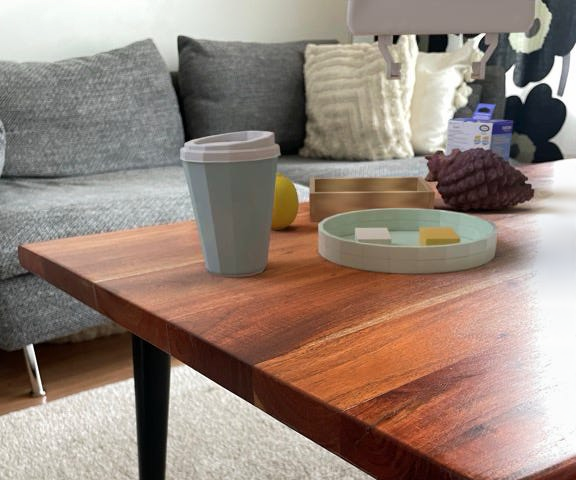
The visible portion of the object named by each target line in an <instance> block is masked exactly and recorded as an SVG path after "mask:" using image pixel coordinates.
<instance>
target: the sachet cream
mask: <svg viewBox="0 0 576 480" xmlns="http://www.w3.org/2000/svg"><path fill="white" fill-rule="evenodd" d="M355 241H358V242H363V243H371V244H382V245H392V239H391V236H390V234H389V231H388V229H387V228H355Z"/></svg>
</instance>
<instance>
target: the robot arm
mask: <svg viewBox="0 0 576 480" xmlns="http://www.w3.org/2000/svg"><path fill="white" fill-rule="evenodd" d="M346 12H347V13H346V14H347V15H346V25H347V29H348V30H349V32H350V33H351V34H352V35H353V36H356V37H358V36H359V37H361V36H362V37H363V36H364V37H366V36H367V37H369V36H377V48H378V50H379V52H380V54H381V56H382V58H383V60H384V62H385V63H386V75H385V76H386V80H390V81H392V80H397V81H398V80H401V78H402V72H401V70H402V62H395V60H394V57H393V56H392V54H391V51H390V49H389V47H392V46H393V42H394V41H393V40H394V36H411V35H412V36H413V35H415V36H417V35H419V36H420V35H459V34H460V35H466V34H467V35H469V34H475V35H476V34H484V35H485V36H484V44H485V45H486V46H488V47H487V49H486V51H485V52H484V54H483V55H482V57H481V58H480V60H479V61H472V62H471V70H472V71H471V72H470V80H485V77H486V75H485V74H486V65H487V62H488V61H489V59H490V57H492V55H493V53H494V51H495V50H496V48H497V46H498V43H499V34H518V33H519V34H520V33H522V34H523V33H527V32H528V31H529V30H531V28H532V27H533V26H534V23H535V17H536V16H535V15H536V0H348V1H347V11H346Z"/></svg>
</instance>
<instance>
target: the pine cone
mask: <svg viewBox="0 0 576 480" xmlns="http://www.w3.org/2000/svg"><path fill="white" fill-rule="evenodd" d="M424 159H425V160H426V161H427V162H426V167H427V169H428V173H427V175H426V176H425V177H424V180H425V181H426V182H427V183H437V184H436V185H435V189H436V190H437V193H438V195H440V198H441V200H442V201H443V204H445V205H448V206H449V207H453V209H454V211H459V210H462V212H466V211H468V210H469V209H471V208H473V209H478V208H482V209H483V210H495V211H497V210H503V209H508V208H510V207H516V206H518V204H524V203H525V202H530V201H531V200H532V199H533V198H534V197H535V189H534V188H532V187H533V185H532V183H527V181H529V178H528V176H526V175H525V174H523V173H522V171H521V170H519V169H516V168H515V167H514V166H512V165H511V164H510V161H509V162H507V161H504V158H503V157H499V156H498V155H497V154H496V153H492V151H491V150H490V149H488V150H484V149H483V148H479V147H478V148H476V149H473V148H471V149H469V150H466V151H463V152H462V151H461V150H460V149H458V148H456V149H452V152H451V154H450V155H445V152H444V150H441V149H438V150H436V151H435V152H434V153H433V154H431V155H425V156H424Z"/></svg>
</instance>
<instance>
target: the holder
mask: <svg viewBox="0 0 576 480" xmlns="http://www.w3.org/2000/svg"><path fill="white" fill-rule="evenodd" d="M308 190H309V191H308V199H309V200H308V201H309V202H308V204H309V205H308V207H309V208H308V209H309V211H308V212H309V213H308V214H309V215H308V217H309V218H308V219H309V220H308V222H309V223H320V222H321V221H323V220H324V219H325V218H328V217H331V216H334V215H337V214H341V213H347V212H352V211H359V210H369V209H385V208H420V209H434V210H435V198H436V191H435V190H434V188H432V187H431V185H430V184H429V182H427V181H425V178H424V177H423V176H369V177H368V176H364V177H363V176H360V177H359V176H357V177H350V176H349V177H309V189H308Z"/></svg>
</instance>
